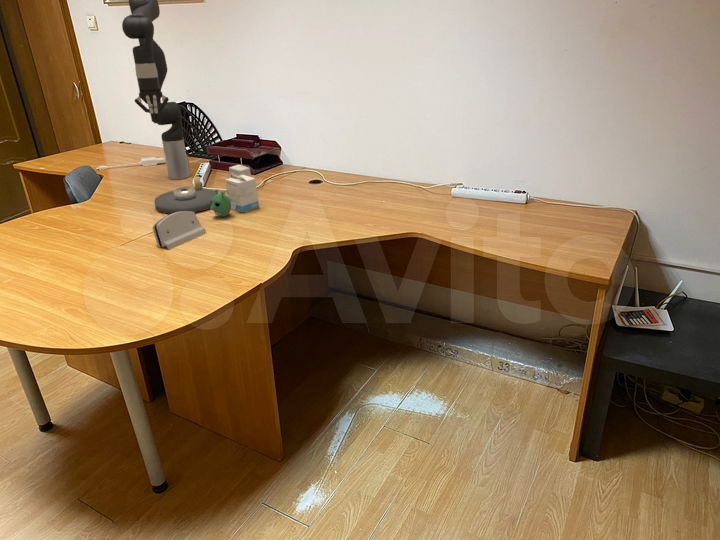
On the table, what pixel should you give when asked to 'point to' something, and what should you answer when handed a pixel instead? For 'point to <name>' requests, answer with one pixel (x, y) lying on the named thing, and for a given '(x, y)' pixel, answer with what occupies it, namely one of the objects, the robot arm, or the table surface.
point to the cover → (184, 193)
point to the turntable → (197, 204)
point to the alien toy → (220, 204)
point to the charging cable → (143, 161)
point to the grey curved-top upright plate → (177, 229)
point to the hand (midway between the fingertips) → (156, 123)
